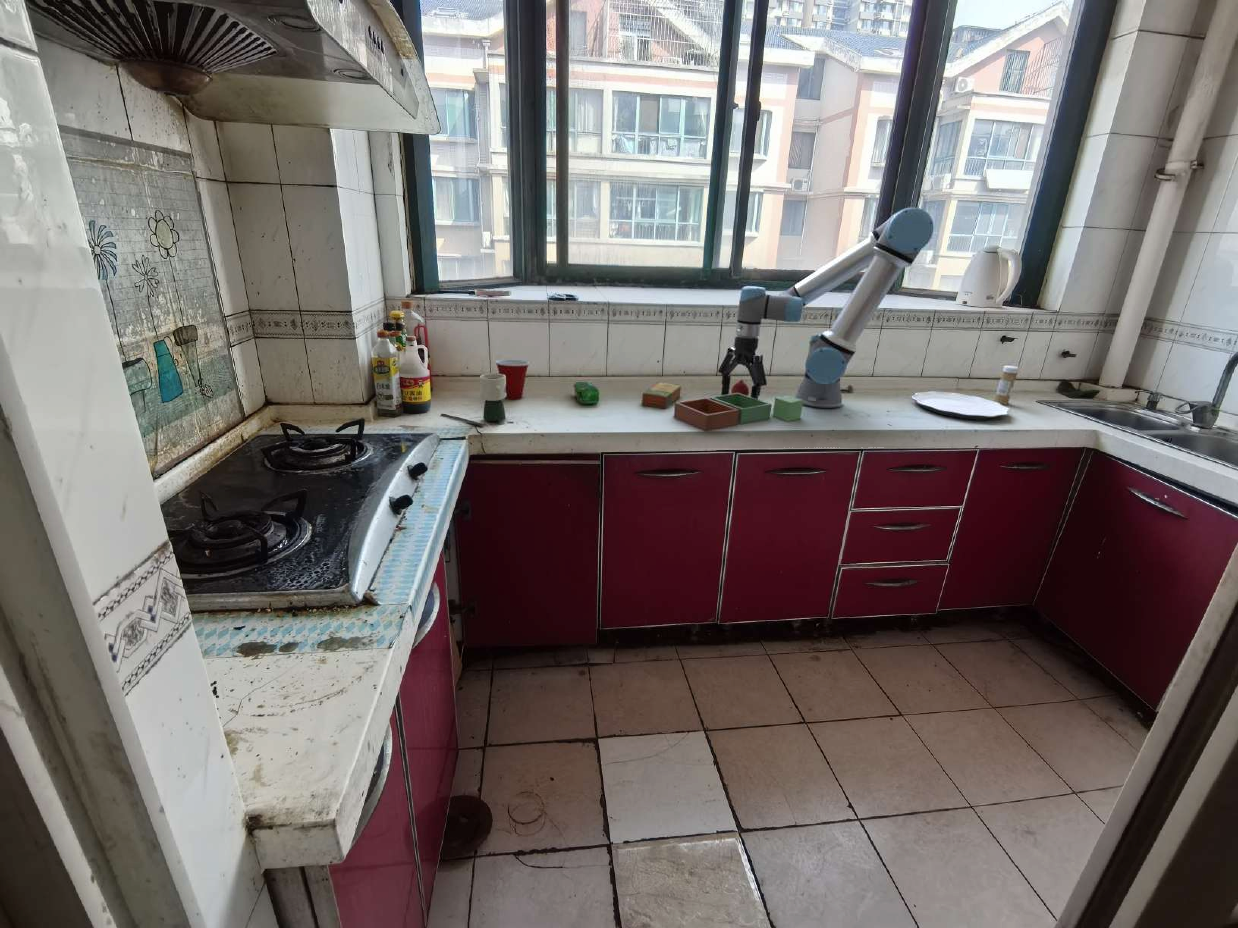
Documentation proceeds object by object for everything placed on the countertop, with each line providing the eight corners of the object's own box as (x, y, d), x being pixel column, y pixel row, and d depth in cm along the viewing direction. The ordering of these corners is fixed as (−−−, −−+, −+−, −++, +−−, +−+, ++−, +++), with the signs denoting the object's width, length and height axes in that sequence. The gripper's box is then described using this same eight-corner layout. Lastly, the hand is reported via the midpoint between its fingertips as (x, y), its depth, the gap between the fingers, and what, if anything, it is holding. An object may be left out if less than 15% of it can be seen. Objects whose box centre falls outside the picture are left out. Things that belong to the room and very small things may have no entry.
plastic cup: (534, 394, 198) (534, 359, 193) (522, 403, 188) (522, 365, 183) (504, 391, 200) (503, 356, 195) (491, 399, 190) (489, 362, 185)
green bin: (736, 406, 195) (738, 392, 194) (769, 418, 184) (771, 404, 182) (708, 411, 189) (709, 397, 187) (740, 424, 178) (742, 409, 176)
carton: (680, 397, 203) (681, 385, 201) (665, 409, 189) (666, 396, 187) (657, 393, 205) (658, 381, 204) (641, 405, 191) (642, 392, 190)
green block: (785, 413, 190) (788, 395, 188) (800, 418, 185) (803, 400, 183) (772, 416, 187) (775, 397, 184) (787, 421, 182) (790, 402, 180)
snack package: (593, 393, 202) (593, 378, 200) (600, 406, 188) (601, 390, 186) (572, 393, 201) (572, 378, 199) (578, 406, 187) (578, 390, 185)
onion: (747, 405, 196) (750, 382, 193) (729, 404, 197) (732, 380, 194) (747, 401, 201) (750, 378, 198) (730, 399, 202) (733, 376, 199)
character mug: (513, 424, 168) (512, 379, 163) (489, 427, 165) (487, 381, 160) (499, 413, 177) (498, 370, 172) (476, 416, 173) (474, 372, 168)
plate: (967, 426, 185) (969, 419, 184) (892, 401, 210) (894, 394, 209) (1027, 418, 197) (1029, 411, 196) (949, 395, 221) (951, 389, 221)
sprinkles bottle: (1011, 404, 212) (1022, 368, 207) (1000, 405, 211) (1011, 368, 206) (1000, 401, 216) (1011, 365, 211) (990, 401, 215) (1001, 365, 210)
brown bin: (704, 411, 188) (706, 397, 186) (737, 424, 177) (739, 409, 175) (673, 416, 181) (674, 402, 179) (705, 430, 170) (707, 415, 168)
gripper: (712, 330, 198) (705, 392, 206) (767, 344, 180) (757, 411, 188) (728, 329, 202) (721, 389, 210) (784, 342, 184) (774, 408, 192)
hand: (738, 400), depth 199 cm, fingers open, 13 cm apart
